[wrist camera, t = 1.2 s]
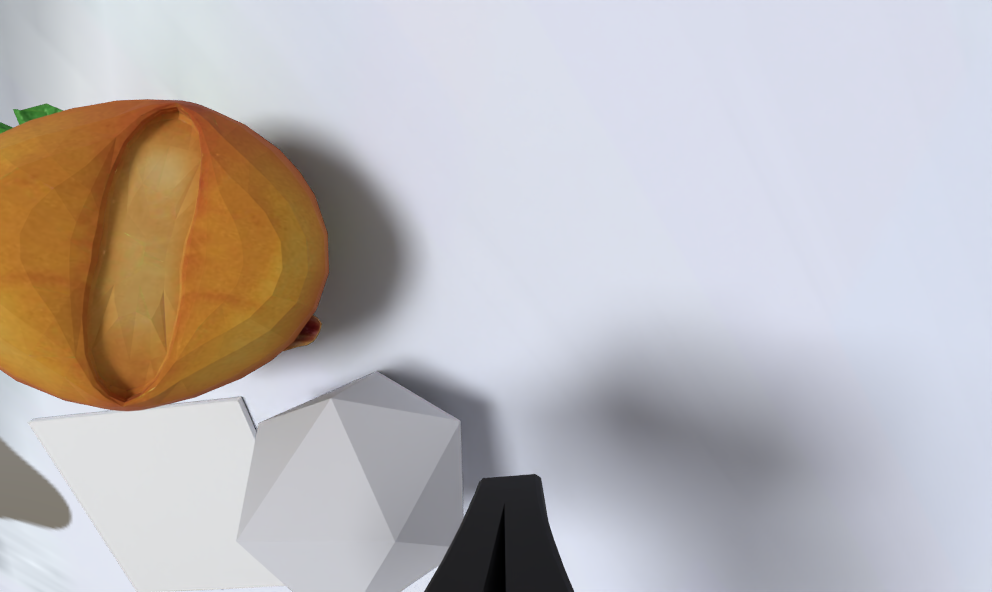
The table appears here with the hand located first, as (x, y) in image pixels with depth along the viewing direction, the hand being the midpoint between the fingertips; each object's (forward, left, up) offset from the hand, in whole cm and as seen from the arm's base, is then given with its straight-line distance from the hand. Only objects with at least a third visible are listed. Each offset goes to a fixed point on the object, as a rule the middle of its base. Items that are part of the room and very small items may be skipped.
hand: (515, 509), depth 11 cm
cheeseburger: (+5, +14, -11) cm, 18 cm away
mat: (-9, +20, -10) cm, 25 cm away
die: (-8, +3, -6) cm, 10 cm away
